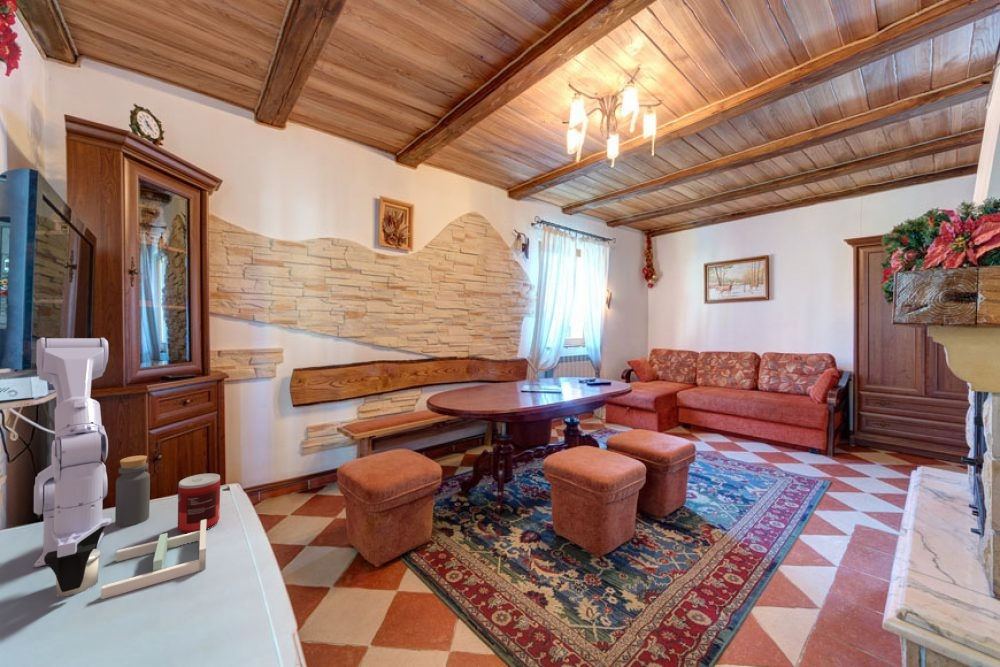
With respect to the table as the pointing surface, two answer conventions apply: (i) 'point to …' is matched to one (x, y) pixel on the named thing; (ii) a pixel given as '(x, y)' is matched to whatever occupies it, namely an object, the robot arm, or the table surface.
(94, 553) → the jar
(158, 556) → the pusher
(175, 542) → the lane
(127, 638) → the table surface
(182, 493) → the canned food
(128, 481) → the bottle
